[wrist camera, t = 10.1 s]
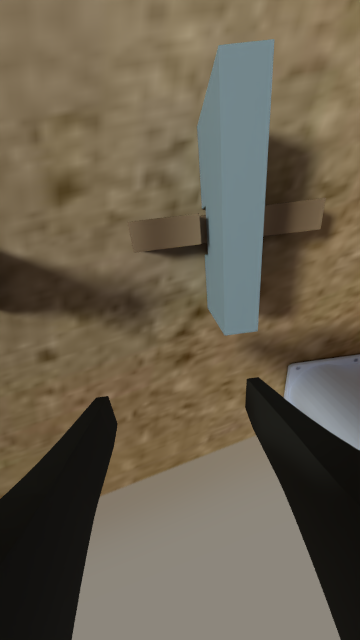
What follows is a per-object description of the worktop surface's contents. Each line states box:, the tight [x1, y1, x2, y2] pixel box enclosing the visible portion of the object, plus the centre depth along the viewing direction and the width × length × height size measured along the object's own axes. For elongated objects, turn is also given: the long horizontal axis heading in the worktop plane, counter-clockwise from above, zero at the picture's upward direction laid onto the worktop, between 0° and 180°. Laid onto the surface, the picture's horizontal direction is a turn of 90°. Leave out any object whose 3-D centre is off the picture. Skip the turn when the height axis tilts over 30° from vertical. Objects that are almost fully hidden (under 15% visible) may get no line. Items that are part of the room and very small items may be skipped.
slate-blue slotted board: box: [197, 39, 274, 335], centre depth 13 cm, size 2×14×6 cm, turn 7°
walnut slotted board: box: [128, 198, 326, 252], centre depth 15 cm, size 14×2×3 cm, turn 97°
